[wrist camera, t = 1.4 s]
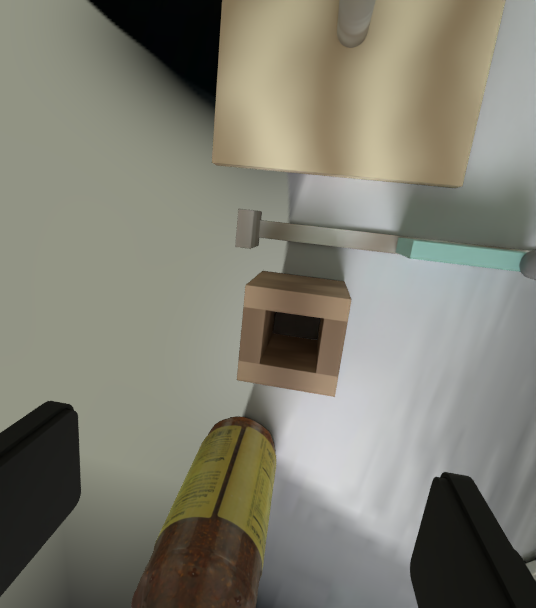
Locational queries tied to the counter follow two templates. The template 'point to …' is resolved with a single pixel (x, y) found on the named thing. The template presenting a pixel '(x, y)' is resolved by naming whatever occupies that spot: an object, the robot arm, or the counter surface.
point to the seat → (351, 97)
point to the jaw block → (288, 349)
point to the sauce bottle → (215, 524)
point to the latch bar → (469, 255)
